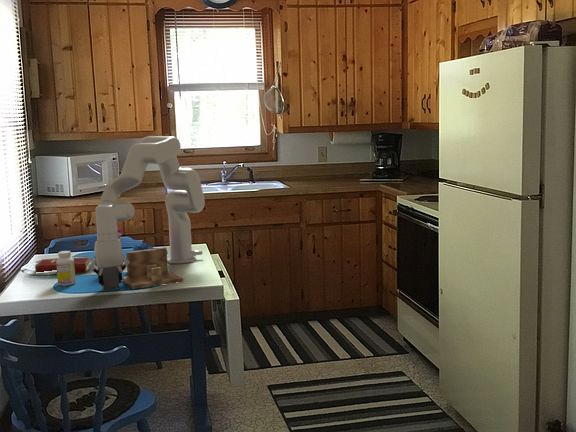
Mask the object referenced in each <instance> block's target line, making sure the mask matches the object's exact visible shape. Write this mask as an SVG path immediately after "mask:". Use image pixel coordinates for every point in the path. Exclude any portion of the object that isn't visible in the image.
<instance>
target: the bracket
mask: <svg viewBox="0 0 576 432" xmlns="http://www.w3.org/2000/svg"><path fill="white" fill-rule="evenodd" d="M102 275H103V282H104V285H103V286H101V290H102V291H104V292H105V291H111V290H118V289H117V288H119V289H120V283H119V271H118V267H117V266H116V267H108V268H104V269H103V272H102Z"/></svg>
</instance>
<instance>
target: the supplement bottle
mask: <svg viewBox="0 0 576 432" xmlns="http://www.w3.org/2000/svg"><path fill="white" fill-rule="evenodd" d="M57 254H58V258H56V259H57V261H56V265H57V273H56V275H57V284H58V285H59V286H64V287H65V286H66V287H67V286H72V285H74V284H76V272H75V267H74V259H73V258H74V257H72V253H71V250H61V251H59V252H58V253H57Z"/></svg>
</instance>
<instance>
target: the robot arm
mask: <svg viewBox="0 0 576 432" xmlns="http://www.w3.org/2000/svg"><path fill="white" fill-rule="evenodd" d="M180 152H181V142H180V140H179V138H177V137H176V136H168V135H165V136H162V135H159V136H158V135H150V136H149V135H147V136H144V137H143V138H142V139H141V140H140V142H137V143H135V144H132V145H131V147H130V148H129V150H128V153H127V156H126V158H125V161H124V164H123V167H122V169H121V173H120V174H119V176H117V177H116V178H115V179H113V180H112V182H110V183H109V184H108V185H107V187H105V189H104V190H103V192H102V194H101V196H100V199H99V202H98V205H97V206H96V207H95V222H96V223H95V226H96V238H97V239H96V241H95V242H94V251H93V252H94V253H93V255H94V256H93V260H92V261H91V264H90V265H89V266H88V267H89V268H88V269H90V270H91V271H92V272H93V273H95V274H96V275H97V280H98V284H99V285H100V286H101V287H102V286H103V285H104V282H103V275H102V272H103V269H104V268H108V267H116V266H117V267H118V271H119V284H122V277H123V272H124V270H125V269H127V265H128V264H129V263H130V261H128V260H127V259H126V256H123V255H124V253H123V249H122V243H121V241H120V240H121V239H120V240H119V239H118V238H119V237H120V238H121V237H122V235H123V234H121V233H118V232H117V227H118V222H128V221H130V220H132V218H133V217H134V216H135V211H136V210H135V206H134V205H133V204H132V203H131V202H128V201H118V200H117V201H116V199H118V197H119V196H120V195H122V194H124V192H127V191H129V190H131V189H133V188H135V187H137V186H139V185H140V184H141V183H142V180H143V178H144V175H145V172H146V169H147V166H148V165H158V169H159V173H160V176H161V179H162V182H163V184H164V187H165V188H166V189H167V190H170V191H169V192H167V194H166V195H165V198H164V201H165V203H164V204H165V208H166V212H167V217H168V233H169V234H168V235H169V253H170V257H167V263H169V264H173V265H174V264H175V265H177V264H178V265H181V264H188V263H189V264H190V263H193V262H196V258H197V257H196V256H202V255H203V250H194V249H193V248H192V227H191V226H192V225H191V224H192V223H191V219H190V217H189V214H188V213H200V212H202V211H203V210H204V208H205V196H204V191H203V187H202V183H201V179H200V175H199V174H198V172H197V171H196V170H195V169H194V168H190V167H181V166H180V163H179V160H178V157H177V156H178V155H179V154H180ZM123 261H124V262H123ZM122 264H123V265H122ZM121 265H122V266H121ZM95 267H97V268H95Z"/></svg>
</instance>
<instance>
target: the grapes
mask: <svg viewBox="0 0 576 432" xmlns="http://www.w3.org/2000/svg"><path fill="white" fill-rule="evenodd" d="M148 249H154V247H153V246H152V245H148V244H147V243H146V242H143V243H141V244H140V245H139V244H135V245H134V246H133V248H132V250H130V252H132V251H140V250H148Z"/></svg>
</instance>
